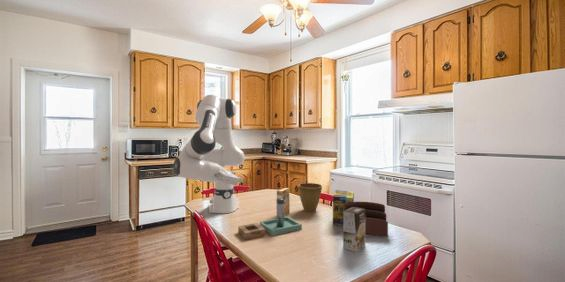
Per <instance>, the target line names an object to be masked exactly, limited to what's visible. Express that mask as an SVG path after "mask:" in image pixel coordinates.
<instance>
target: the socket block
mask: <svg viewBox="0 0 565 282" xmlns="http://www.w3.org/2000/svg"><path fill="white" fill-rule="evenodd" d="M237 228H238V234H239V235H240V236H241V237H242V238H244V240H251V239H255V238H261V237H264V236H266V231H265V229H264V228H263V227H262V226H260V223H257V222H255V223H250V224H245V225H239V226H238V227H237Z"/></svg>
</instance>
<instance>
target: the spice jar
mask: <svg viewBox="0 0 565 282" xmlns="http://www.w3.org/2000/svg"><path fill="white" fill-rule="evenodd" d="M275 200H276V219H277V227H284V217H285V216H284V198H277V197H276V199H275Z"/></svg>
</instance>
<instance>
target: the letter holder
mask: <svg viewBox="0 0 565 282" xmlns="http://www.w3.org/2000/svg"><path fill="white" fill-rule="evenodd" d="M351 207H358V208H363V209H366V220H365V237H366V236H368V237H379V238H380V237H381V238H388V237H389V222H388V220H387V213H386V206H385V205H384V204H383V203H378V202H374V201H373V202H370V201H354V202H346V203H345V210H346V209H349V208H351Z"/></svg>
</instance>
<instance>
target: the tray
mask: <svg viewBox="0 0 565 282" xmlns="http://www.w3.org/2000/svg"><path fill="white" fill-rule="evenodd" d="M259 225H260V226H262V227H263V228H264V229H265V233H267V234H269V235H270V236H271V237H273V235H274V236H278V235H281V234H286V233H291V232H296V231H300V230H302V229H303V228H302V227H303V226H302V225H303V224H302V223H301V222H298V221H297V220H294V219H293V218H292V217H289V216H284V227H277V218H273V219H268V220H263V221H259Z"/></svg>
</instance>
